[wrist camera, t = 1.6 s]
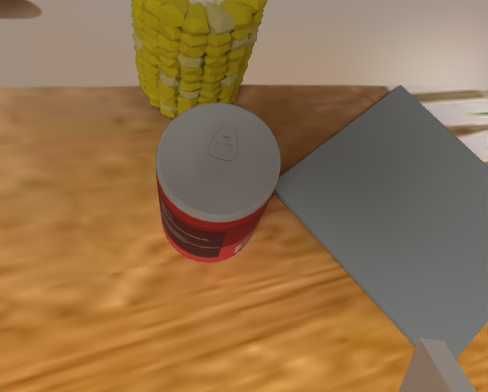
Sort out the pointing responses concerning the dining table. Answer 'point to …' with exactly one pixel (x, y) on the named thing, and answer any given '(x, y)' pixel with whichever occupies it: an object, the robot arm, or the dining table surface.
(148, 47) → the food
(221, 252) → the canned food
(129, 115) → the dining table surface
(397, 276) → the rubber mat
